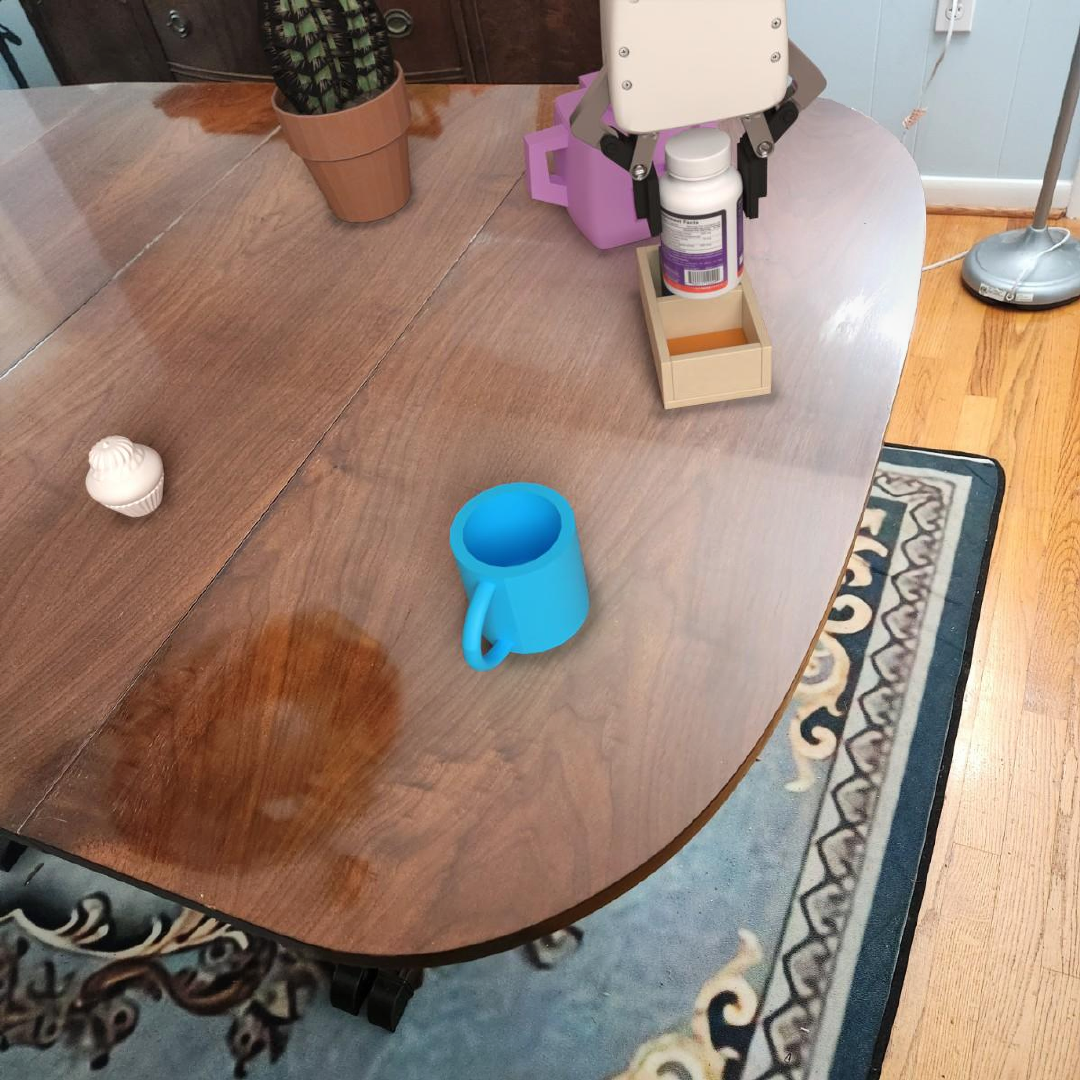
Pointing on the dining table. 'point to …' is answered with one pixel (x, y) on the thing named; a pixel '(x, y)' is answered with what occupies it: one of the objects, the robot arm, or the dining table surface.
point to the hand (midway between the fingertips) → (700, 213)
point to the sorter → (704, 340)
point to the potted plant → (340, 101)
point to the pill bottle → (701, 215)
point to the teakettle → (588, 176)
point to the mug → (518, 572)
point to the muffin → (125, 476)
